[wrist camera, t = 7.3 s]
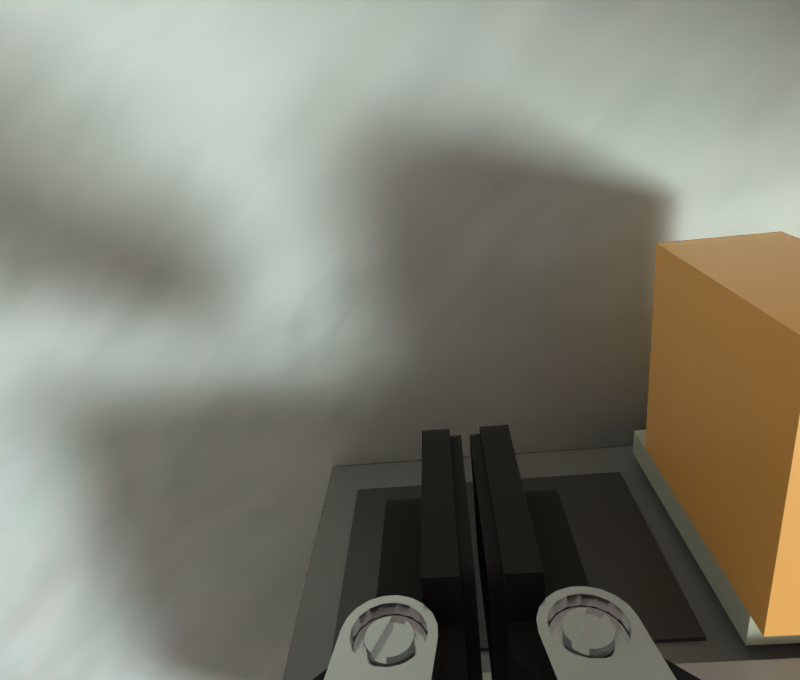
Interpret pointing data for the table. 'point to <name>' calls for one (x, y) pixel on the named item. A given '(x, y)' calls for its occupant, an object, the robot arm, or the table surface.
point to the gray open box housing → (596, 544)
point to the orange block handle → (730, 420)
